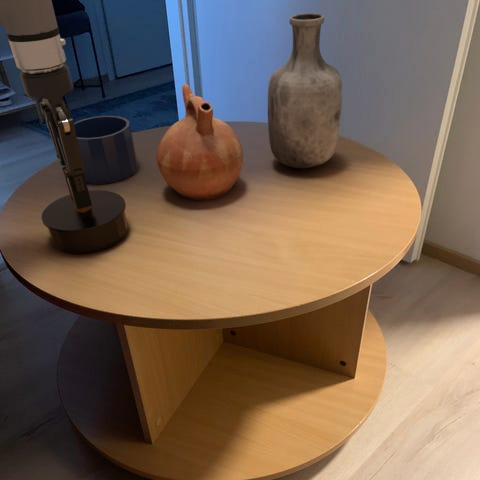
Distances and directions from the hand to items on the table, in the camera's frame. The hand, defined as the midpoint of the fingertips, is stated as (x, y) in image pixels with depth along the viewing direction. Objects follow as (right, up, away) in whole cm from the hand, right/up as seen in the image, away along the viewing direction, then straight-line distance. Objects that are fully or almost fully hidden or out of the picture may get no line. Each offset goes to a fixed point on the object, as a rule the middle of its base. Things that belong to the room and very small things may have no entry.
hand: (81, 202), depth 94 cm
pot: (-2, +14, +27) cm, 30 cm away
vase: (+44, +15, +24) cm, 53 cm away
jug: (+22, +7, +17) cm, 28 cm away
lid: (0, -1, +1) cm, 2 cm away
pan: (0, -5, +4) cm, 7 cm away
